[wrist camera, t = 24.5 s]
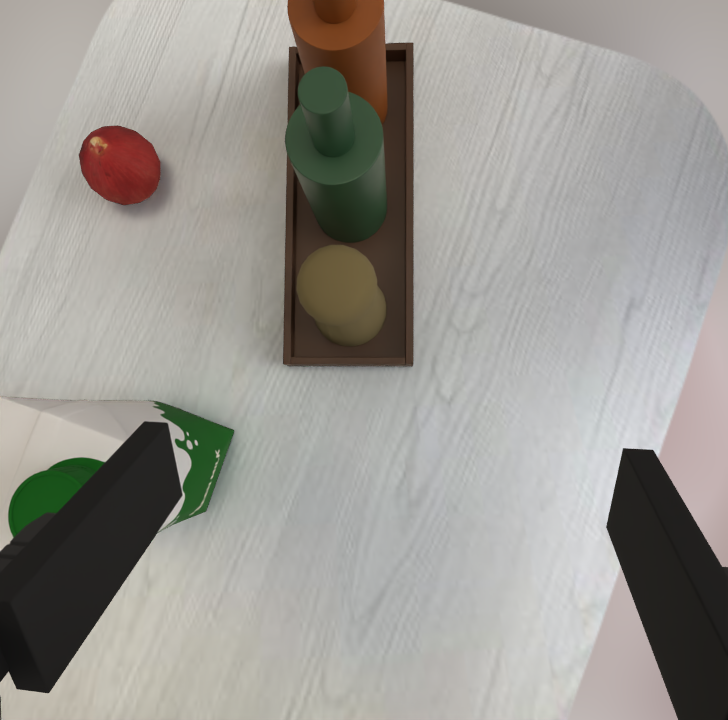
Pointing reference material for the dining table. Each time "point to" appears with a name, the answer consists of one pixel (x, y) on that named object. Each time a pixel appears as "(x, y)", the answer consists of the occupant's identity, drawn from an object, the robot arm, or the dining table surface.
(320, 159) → the green bottle
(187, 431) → the milk carton
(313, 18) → the amber bottle
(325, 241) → the tray
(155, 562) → the dining table surface
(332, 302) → the cork
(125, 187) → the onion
